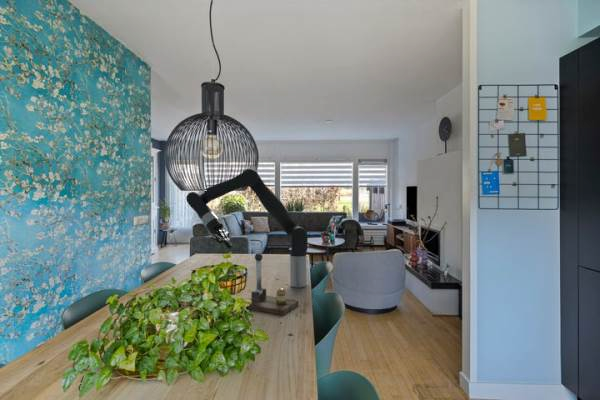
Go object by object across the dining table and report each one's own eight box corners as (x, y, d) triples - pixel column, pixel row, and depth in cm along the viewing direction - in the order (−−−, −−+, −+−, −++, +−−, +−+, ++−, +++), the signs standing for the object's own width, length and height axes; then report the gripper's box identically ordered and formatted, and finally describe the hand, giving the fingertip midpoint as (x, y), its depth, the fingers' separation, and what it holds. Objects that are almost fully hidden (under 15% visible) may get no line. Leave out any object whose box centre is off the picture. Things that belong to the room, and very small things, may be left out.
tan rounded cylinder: (279, 301, 143) (279, 286, 143) (287, 302, 141) (287, 287, 141) (274, 304, 139) (274, 288, 139) (283, 306, 137) (282, 290, 137)
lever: (258, 294, 148) (257, 252, 147) (264, 295, 146) (264, 252, 146) (253, 296, 144) (253, 253, 144) (260, 297, 143) (259, 254, 143)
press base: (258, 298, 154) (258, 285, 154) (298, 305, 144) (298, 290, 144) (241, 307, 141) (241, 293, 141) (283, 315, 131) (282, 299, 131)
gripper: (206, 218, 153) (226, 244, 148) (224, 216, 165) (243, 241, 160) (198, 228, 156) (217, 255, 150) (217, 226, 168) (235, 250, 162)
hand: (231, 247), depth 155 cm, fingers closed
